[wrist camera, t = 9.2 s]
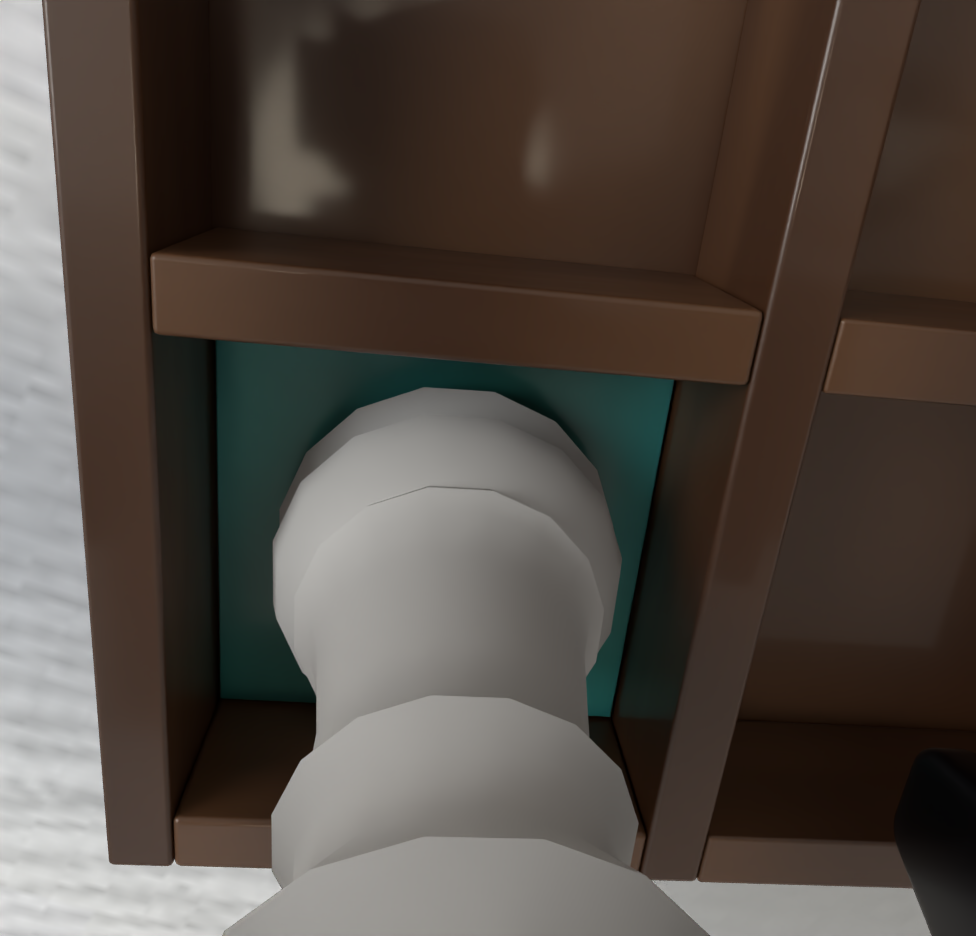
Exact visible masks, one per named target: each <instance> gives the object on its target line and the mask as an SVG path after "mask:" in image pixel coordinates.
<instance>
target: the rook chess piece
mask: <svg viewBox="0 0 976 936" xmlns="http://www.w3.org/2000/svg"><path fill="white" fill-rule="evenodd" d="M621 564H622V557H621V553H620V550H619V546H618V543H617V539H616V536H615V532H614V527H613V523H612V520H611V516H610V513H609V509H608V506H607V502H606V499H605V495H604V492H603V488H602V485H601V482H600V478H599V475H598V471H597V469H596V468H595V467H594V466H593V464H592V463H591V462H590V461H589V460H588V459H587V458H586V456H585V455H584V454H583V453H582V452H581V451H580V449H579V448H578V447H577V446H576V445H575V444H574V442H573V441H572V440H571V439H570V438H569V437H568V435H567V434H566V433H565V432H564V431H563V430H562V428H561V427H560V426H559V425H558V424H557V423H556V422H555V421H553V420H551V419H549V418H547V417H545V416H543V415H541V414H539V413H537V412H535V411H533V410H531V409H529V408H527V407H525V406H522V405H520V404H518V403H516V402H514V401H512V400H510V399H508V398H506V397H504V396H502V395H500V394H498V393H496V392H488V391H474V390H459V389H444V388H430V387H423V388H420V389H417V390H414V391H411V392H408V393H404V394H401V395H398V396H395V397H392V398H389V399H386V400H383V401H380V402H377V403H373V404H370V405H367V406H364V407H361V408H358V409H356V410H355V411H354V412H353V413H352V414H351V415H349V416H348V417H347V418H346V419H345V420H344V421H342V422H341V423H340V424H339V425H338V426H337V427H335V428H334V429H333V430H332V431H331V432H330V433H328V434H327V435H326V436H325V437H324V438H323V439H321V440H320V441H319V442H318V443H317V444H316V445H314V446H313V447H312V448H311V449H310V450H309V451H307V452H306V454H305V456H304V458H303V461H302V463H301V465H300V467H299V469H298V471H297V473H296V475H295V478H294V480H293V482H292V484H291V486H290V488H289V490H288V492H287V495H286V497H285V499H284V501H283V503H282V505H281V507H280V526H279V529H278V531H277V533H276V535H275V537H274V539H273V605H274V610H275V615H276V619H277V621H278V623H279V625H280V627H281V630H282V632H283V634H284V636H285V638H286V640H287V642H288V644H289V646H290V648H291V650H292V652H293V654H294V656H295V659H296V661H297V663H298V665H299V667H300V669H301V671H302V673H304V674H305V675H306V676H307V677H308V680H309V682H310V684H311V686H312V688H313V690H314V692H315V694H316V738H315V743H314V748H313V751H312V752H311V753H310V754H308V755H307V756H306V757H304V758H303V759H302V760H301V761H300V763H299V764H298V766H297V768H296V770H295V772H294V774H293V776H292V777H291V779H290V781H289V783H288V785H287V787H286V789H285V790H284V792H283V794H282V796H281V798H280V800H279V802H278V803H277V805H276V807H275V809H274V811H273V813H272V815H271V819H272V872H273V874H274V876H275V877H276V879H277V881H278V883H279V884H280V886H281V888H282V890H281V891H279V892H278V893H276V894H275V895H274V896H272V897H271V898H270V899H268V900H267V901H265V902H264V903H263V904H261V905H260V906H258V907H257V908H256V909H254V910H253V911H252V912H250V913H249V914H247V915H246V916H245V917H243V918H242V919H240V920H239V921H238V922H236V923H235V924H234V925H232V926H231V927H229V928H228V929H227V930H225V931H224V933H223V935H222V936H710V935H709V934H708V933H707V932H706V931H704V930H703V929H702V928H701V927H700V926H699V925H698V924H697V923H696V922H695V921H694V920H693V919H692V918H691V917H689V916H688V915H687V914H686V913H685V912H684V911H683V910H682V909H681V908H680V907H679V906H678V905H677V904H676V903H675V902H673V901H672V900H671V899H670V898H669V897H668V896H667V895H666V894H665V893H664V892H663V891H662V890H661V889H660V888H659V887H657V886H656V885H655V884H654V883H653V882H652V881H651V880H650V879H649V878H648V877H647V876H646V875H644V874H642V873H640V872H639V871H637V870H635V869H633V868H632V867H630V865H631V860H632V854H633V849H634V844H635V839H636V834H637V829H638V824H639V823H638V820H637V817H636V814H635V810H634V807H633V804H632V801H631V798H630V795H629V792H628V789H627V786H626V783H625V780H624V776H623V773H622V770H621V769H620V768H619V767H618V766H617V765H616V764H615V763H614V762H613V761H612V760H611V759H610V758H609V757H608V756H607V755H606V754H605V753H604V752H603V751H602V750H601V749H600V748H599V747H598V746H597V745H596V744H595V743H594V742H593V741H592V740H591V739H590V738H589V724H588V706H587V688H586V676H587V675H588V673H589V672H590V670H591V669H592V667H593V666H594V664H595V663H596V659H597V653H598V652H599V650H600V649H601V647H602V645H603V644H604V642H605V641H606V639H607V638H608V636H609V635H610V633H611V627H612V621H613V615H614V609H615V603H616V597H617V591H618V584H619V578H620V571H621Z"/></svg>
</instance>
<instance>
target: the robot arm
mask: <svg viewBox="0 0 976 936" xmlns="http://www.w3.org/2000/svg"><path fill="white" fill-rule="evenodd" d="M893 827H894V837H895V842H896V845H897V848H898V851H899V853H900V856H901V859H902V861H903V864H904V866H905V869H906V871H907V874H908V876H909V879H910V882H911V884H912V887H913V889H914V892H915V894H916V897H917V899H918V902H919V905H920V907H921V910H922V912H923V915H924V917H925V920H926V922H927V925H928V928H929V930H930V933H931V935H932V936H976V753H974V752H972V751H969V750H965V749H954V748H927V749H924V750H922V751H921V752H920V753H919V754H918V755H917V756H916V757H915V759H914V762H913V764H912V767H911V770H910V773H909V776H908V778H907V781H906V784H905V787H904V790H903V793H902V795H901V798H900V801H899V804H898V807H897V809H896V812H895V816H894V825H893Z"/></svg>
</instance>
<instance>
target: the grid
mask: <svg viewBox="0 0 976 936" xmlns="http://www.w3.org/2000/svg"><path fill="white" fill-rule="evenodd" d="M42 7H43V20H44V32H45V45H46V58H47V71H48V84H49V97H50V109H51V122H52V135H53V148H54V161H55V174H56V186H57V199H58V212H59V225H60V238H61V251H62V263H63V276H64V289H65V302H66V315H67V327H68V340H69V353H70V366H71V379H72V392H73V404H74V417H75V430H76V443H77V456H78V469H79V481H80V494H81V507H82V520H83V533H84V546H85V558H86V571H87V584H88V597H89V610H90V623H91V635H92V648H93V661H94V674H95V687H96V699H97V712H98V725H99V738H100V751H101V764H102V776H103V789H104V802H105V815H106V828H107V841H108V853H109V862H110V863H111V864H116V865H151V866H169V865H171V864H172V863H173V862H174V860H175V862H176V863H177V864H178V865H180V866H207V867H241V868H272V819H271V815H272V813H273V811H274V809H275V807H276V805H277V803H278V802H279V800H280V798H281V796H282V794H283V792H284V790H285V789H286V787H287V785H288V783H289V781H290V779H291V777H292V776H293V774H294V772H295V770H296V768H297V766H298V764H299V763H300V761H301V760H302V759H303V758H304V757H306V756H307V755H308V754H310V753H311V752H312V751H313V748H314V743H315V738H316V694H315V692H314V690H313V688H312V686H311V684H310V682H309V680H308V677H307V676H306V675H305V674H304V673H302V671H301V669H300V667H299V665H298V663H297V661H296V659H295V656H294V654H293V652H292V650H291V648H290V646H289V644H288V642H287V640H286V638H285V636H284V634H283V632H282V630H281V627H280V625H279V623H278V621H277V619H276V615H275V610H274V605H273V539H274V537H275V535H276V533H277V531H278V529H279V526H280V507H281V505H282V503H283V501H284V499H285V497H286V495H287V492H288V490H289V488H290V486H291V484H292V482H293V480H294V478H295V475H296V473H297V471H298V469H299V467H300V465H301V463H302V461H303V458H304V456H305V454H306V452H307V451H309V450H310V449H311V448H312V447H313V446H314V445H316V444H317V443H318V442H319V441H320V440H321V439H323V438H324V437H325V436H326V435H327V434H328V433H330V432H331V431H332V430H333V429H334V428H335V427H337V426H338V425H339V424H340V423H341V422H342V421H344V420H345V419H346V418H347V417H348V416H349V415H351V414H352V413H353V412H354V411H355V410H356V409H358V408H361V407H364V406H367V405H370V404H373V403H377V402H380V401H383V400H386V399H389V398H392V397H395V396H398V395H401V394H404V393H408V392H411V391H414V390H417V389H420V388H423V387H430V388H444V389H459V390H474V391H488V392H496V393H498V394H500V395H502V396H504V397H506V398H508V399H510V400H512V401H514V402H516V403H518V404H520V405H522V406H525V407H527V408H529V409H531V410H533V411H535V412H537V413H539V414H541V415H543V416H545V417H547V418H549V419H551V420H553V421H555V422H556V423H557V424H558V425H559V426H560V427H561V428H562V430H563V431H564V432H565V433H566V434H567V435H568V437H569V438H570V439H571V440H572V441H573V442H574V444H575V445H576V446H577V447H578V448H579V449H580V451H581V452H582V453H583V454H584V455H585V456H586V458H587V459H588V460H589V461H590V462H591V463H592V464H593V466H594V467H595V468H596V469H597V471H598V475H599V478H600V482H601V485H602V488H603V492H604V495H605V499H606V502H607V506H608V509H609V513H610V516H611V520H612V523H613V527H614V532H615V536H616V539H617V543H618V546H619V550H620V553H621V557H622V564H621V571H620V578H619V584H618V591H617V597H616V603H615V609H614V615H613V621H612V627H611V633H610V635H609V636H608V638H607V639H606V641H605V642H604V644H603V645H602V647H601V649H600V650H599V652H598V653H597V659H596V663H595V664H594V666H593V667H592V669H591V670H590V672H589V673H588V675H587V676H586V688H587V706H588V724H589V738H590V739H591V740H592V741H593V742H594V743H595V744H596V745H597V746H598V747H599V748H600V749H601V750H602V751H603V752H604V753H605V754H606V755H607V756H608V757H609V758H610V759H611V760H612V761H613V762H614V763H615V764H616V765H617V766H618V767H619V768H620V769H621V770H622V773H623V776H624V780H625V783H626V786H627V789H628V792H629V795H630V798H631V801H632V804H633V807H634V810H635V814H636V817H637V820H638V823H639V824H638V829H637V834H636V839H635V844H634V849H633V854H632V860H631V865H630V867H632V868H633V869H635V870H637V871H639V872H640V873H642V874H644V875H646V876H647V877H648V878H649V879H650V880H668V881H694V880H695V879H696V877H697V879H698V880H699V881H700V882H718V883H753V884H787V885H821V886H856V887H890V888H913V887H912V884H911V882H910V879H909V876H908V874H907V871H906V869H905V866H904V864H903V861H902V859H901V856H900V853H899V851H898V848H897V845H896V842H895V837H894V827H893V825H894V816H895V812H896V809H897V807H898V804H899V801H900V798H901V795H902V793H903V790H904V787H905V784H906V781H907V778H908V776H909V773H910V770H911V767H912V764H913V762H914V759H915V757H916V756H917V755H918V754H919V753H920V752H921V751H922V750H924V749H927V748H954V749H965V750H969V751H972V752H974V753H976V0H42Z"/></svg>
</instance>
